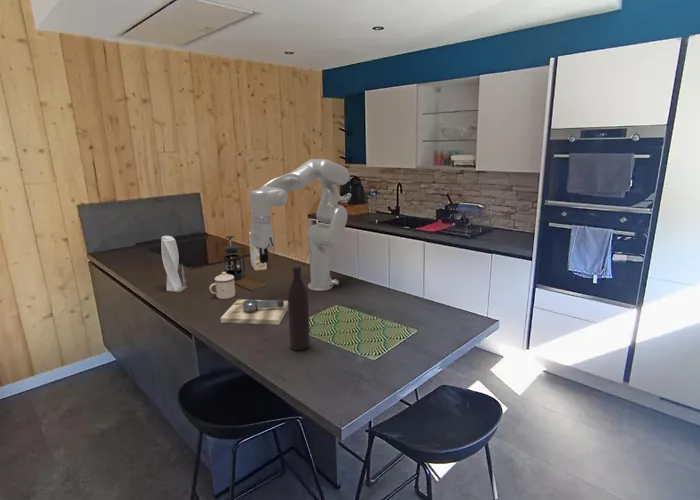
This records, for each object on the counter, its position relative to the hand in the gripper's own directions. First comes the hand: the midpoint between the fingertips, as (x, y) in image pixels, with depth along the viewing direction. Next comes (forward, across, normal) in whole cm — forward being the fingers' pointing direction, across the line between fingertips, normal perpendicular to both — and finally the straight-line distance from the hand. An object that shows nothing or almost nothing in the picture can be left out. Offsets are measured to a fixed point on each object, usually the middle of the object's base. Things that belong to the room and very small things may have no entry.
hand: (264, 262), depth 175 cm
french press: (+21, -45, +15) cm, 52 cm away
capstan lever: (+18, +3, -7) cm, 19 cm away
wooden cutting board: (+21, +1, -7) cm, 22 cm away
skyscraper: (+21, -53, -14) cm, 59 cm away
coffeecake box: (+22, -51, +36) cm, 66 cm away
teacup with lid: (+21, -27, -4) cm, 35 cm away
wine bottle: (+21, +36, -15) cm, 45 cm away
